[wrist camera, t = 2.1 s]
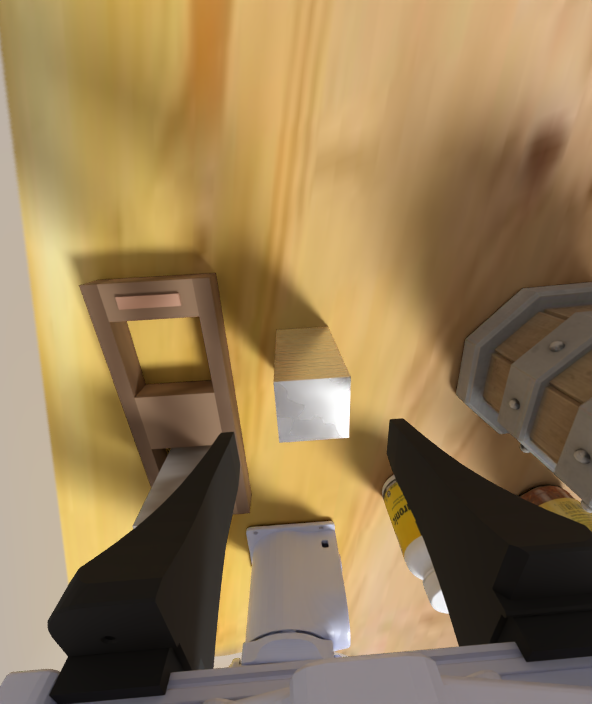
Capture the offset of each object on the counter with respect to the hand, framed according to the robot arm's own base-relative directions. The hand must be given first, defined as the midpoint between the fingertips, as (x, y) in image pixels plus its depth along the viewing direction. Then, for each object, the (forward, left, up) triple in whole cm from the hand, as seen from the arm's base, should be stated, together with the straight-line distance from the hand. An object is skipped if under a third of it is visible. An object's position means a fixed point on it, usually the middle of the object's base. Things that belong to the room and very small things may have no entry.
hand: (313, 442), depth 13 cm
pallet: (+10, +5, -11) cm, 15 cm away
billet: (0, 0, -11) cm, 11 cm away
